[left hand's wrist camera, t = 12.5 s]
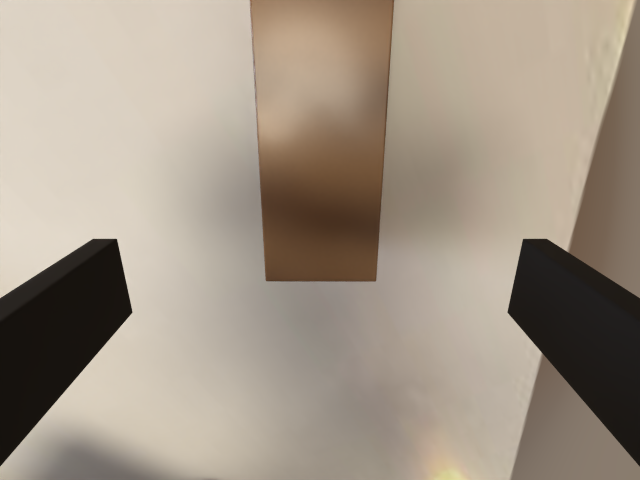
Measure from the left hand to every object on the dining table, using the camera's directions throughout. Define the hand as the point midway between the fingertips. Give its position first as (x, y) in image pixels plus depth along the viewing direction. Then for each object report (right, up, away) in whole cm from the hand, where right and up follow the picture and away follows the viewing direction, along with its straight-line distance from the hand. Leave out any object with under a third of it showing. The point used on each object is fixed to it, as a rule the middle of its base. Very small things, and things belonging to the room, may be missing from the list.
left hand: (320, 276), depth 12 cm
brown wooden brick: (0, +11, +12) cm, 16 cm away
